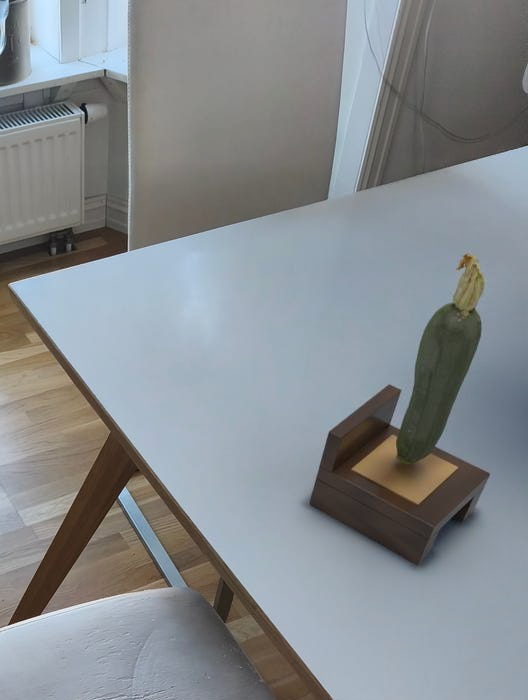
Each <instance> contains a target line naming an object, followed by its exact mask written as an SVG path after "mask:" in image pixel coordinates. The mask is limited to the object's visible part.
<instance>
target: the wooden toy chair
mask: <svg viewBox="0 0 528 700" xmlns="http://www.w3.org/2000/svg"><path fill="white" fill-rule="evenodd" d="M401 393H402V389H401V388H398V387H397V386H394V385H392V384H390V383H389V384H387V385H386V386H384V388H382V389H381V390H380V391H378V392H377V393H376V394H374V395H373V396H372V397H371V398H369V399H368V400H367V401H366V402H365V403H363V404H362V405H361V406H359V407H358V408H356V410H354V411H353V412H351V413H350V414H349V415H348V416H347V417H345V418H344V419H343V420H342V421H340V422H339V423H338V424H336V425H335V426H334V427H333V428H331V429H330V430H329V431H328V432H327V437H326V440H325V443H324V446H323V447H324V448H323V451H322V455H321V459H320V462H319V466H318V469H317V473H316V476H315V481H314V485H313V489H312V492H311V494H310V495H311V496H310V499H309V503H308V505H310V506H311V507H312V508H315V509H316V510H318V511H320V512H322V513H323V514H325V515H327V516H328V517H331V518H332V519H334V520H336V521H338V522H339V523H341V524H343V525H344V526H347V527H349V528H350V529H352V530H354V531H355V532H358V533H359V534H360V535H363V536H364V537H366V538H368V539H370V540H371V541H373V542H375V543H377V544H378V545H380V546H382V547H384V548H385V549H387V550H389V551H391V552H393V553H394V554H396V555H398V556H400V557H401V558H403V559H405V560H407V561H409V562H410V563H412V564H413V565H416V566H419V565H420V564H421V563H422V562H424V560H425V559H426V558H428V556H430V553H431V551H432V549H433V546H434V545H435V542H436V539H437V537H438V535H439V533H440V531H441V529H442V528H443V527H444V526H445V525H446V524H447V523H448V522H449V521H450V520H451V519H452V518H454V519H455V520H457V521H459V522H461V523H463V522H465V520H467V518H469V517H470V516H471V515H472V514H473V512H474V511H475V508H476V506H477V504H478V502H479V500H480V498H481V496H482V494H483V491H484V489H485V487H486V485H487V482H488V480H489V478H490V476H491V473H490V472H488V471H486V470H484V469H482V468H480V467H479V466H477V465H474V464H472V463H470V462H469V461H466V460H464V459H462V458H459V457H458V456H456V455H453V454H451V453H450V452H447V451H445V450H444V449H442V448H439V447H437V446H435V447H434V448H433V450H432V452H431V453H430V454H429V455H428V456H427V457H425V458H424V459H421V460H419V461H417V462H413V463H411V464H404V463H402V462H401V460H400V459H397V458H396V455H397V448H396V440H397V437H398V433H399V431H400V428H399V427H396V426H394V425H392V424H391V423H392V420H393V417H394V414H395V411H396V409H397V405H398V402H399V399H400V396H401Z"/></svg>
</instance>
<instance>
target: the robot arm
mask: <svg viewBox="0 0 528 700" xmlns="http://www.w3.org/2000/svg"><path fill="white" fill-rule="evenodd" d="M524 70H525V71H524V73H523V77H522V82H521V84H522V89H523V92H525V93H526V94H528V63H527V64H526V67H525V69H524Z"/></svg>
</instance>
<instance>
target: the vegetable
mask: <svg viewBox="0 0 528 700" xmlns="http://www.w3.org/2000/svg"><path fill="white" fill-rule="evenodd" d="M462 257H463V258H461V259H460V261H459V264H458V266H457V267H456V268H455V269H456V271H460V270H461V269H464V268H465V270H464V271H463V273H462V274H461V276H460V278H459V280H458V283H457V286H456V288H455V292H454V294H453V295H452V301H451V302H449V303H446V304H444V305H443V306H441V307H439V308H438V309H437V310H436V311H435V312H434V314H433V315H432V316H431V317H430V319H429V320H428V322H427V324H426V325H425V328H424V330H423V333H422V334H421V337H420V338H421V339H420V341H419V346H418V350H417V355H416V360H415V364H414V365H415V366H414V379H413V380H414V381H413V386H412V387H413V388H412V391H411V395H410V398H409V399H410V400H409V403H408V406H407V408H406V411H405V413H404V416H403V419H402V422H401V425H400V427H399V429H400V431H399V433H398V437H397V440H396V448H397V455H396V458H397V459H400V460H401V462H402V463H404V464H411V463H413V462H417V461H419V460H421V459H424V458H425V457H427V456H428V455H429V454H430V453H431V452H432V450H433V448H434V447H436V445H437V444H438V442H439V440H440V438H441V437H442V435H443V433H444V432H445V431H444V430H445V428H446V425H447V422H448V420H449V417H450V415H451V411H452V410H453V406H454V404H455V402H456V400H457V397H458V395H459V392H460V390H461V387H462V385H463V383H464V381H465V378H466V376H467V374H468V372H469V369H470V367H471V365H472V362H473V360H474V358H475V356H476V353H477V349H478V347H479V344H480V342H481V338H482V330H483V329H482V319H481V316H480V314H479V312H478V310H476V307H477V306H478V304H479V300H480V298H481V297H482V295H483V293H484V289H485V277H484V276H483V274H484V273H483V272H482V271H481V265H480V264H479V263H478V262H479V259H478V257H476V256H475V255H473V254H471V253H470V252H469V253H466V254H464V255H462Z"/></svg>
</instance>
